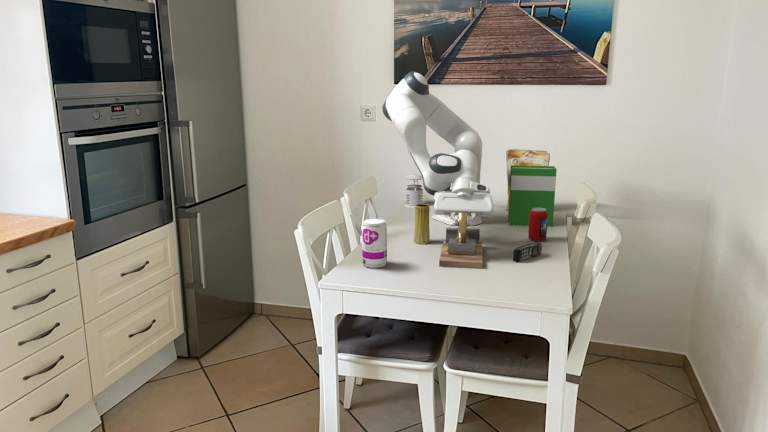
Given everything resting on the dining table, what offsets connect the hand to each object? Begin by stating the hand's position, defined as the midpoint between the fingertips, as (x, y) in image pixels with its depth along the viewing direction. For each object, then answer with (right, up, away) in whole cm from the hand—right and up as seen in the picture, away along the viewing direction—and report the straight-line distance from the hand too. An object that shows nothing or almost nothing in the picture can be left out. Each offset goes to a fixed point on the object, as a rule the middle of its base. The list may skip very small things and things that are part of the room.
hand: (462, 225), depth 195 cm
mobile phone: (+23, -12, +4) cm, 26 cm away
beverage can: (+32, -6, +25) cm, 41 cm away
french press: (-12, +8, +81) cm, 83 cm away
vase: (-12, -7, +22) cm, 26 cm away
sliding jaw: (0, -9, +3) cm, 10 cm away
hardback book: (+35, 0, +48) cm, 59 cm away
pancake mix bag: (+38, +5, +70) cm, 79 cm away
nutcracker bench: (0, -11, +5) cm, 12 cm away
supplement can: (-30, -13, -3) cm, 33 cm away
